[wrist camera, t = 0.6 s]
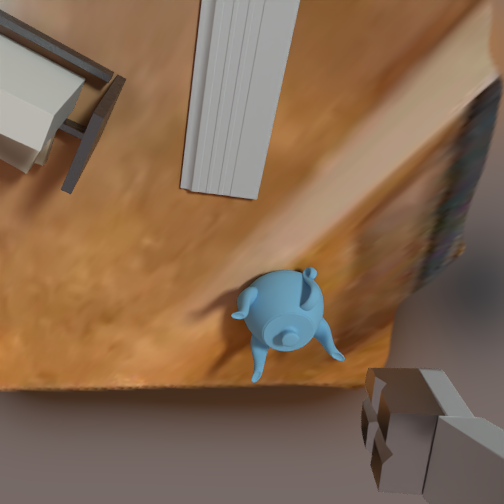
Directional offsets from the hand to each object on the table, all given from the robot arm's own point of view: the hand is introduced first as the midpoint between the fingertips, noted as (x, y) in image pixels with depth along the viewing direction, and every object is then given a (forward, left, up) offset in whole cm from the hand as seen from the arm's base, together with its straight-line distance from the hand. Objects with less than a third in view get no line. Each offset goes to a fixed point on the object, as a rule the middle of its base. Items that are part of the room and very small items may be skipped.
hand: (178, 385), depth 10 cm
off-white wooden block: (+13, -15, -50) cm, 54 cm away
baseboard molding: (+2, +6, -51) cm, 51 cm away
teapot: (+29, +30, -51) cm, 65 cm away
